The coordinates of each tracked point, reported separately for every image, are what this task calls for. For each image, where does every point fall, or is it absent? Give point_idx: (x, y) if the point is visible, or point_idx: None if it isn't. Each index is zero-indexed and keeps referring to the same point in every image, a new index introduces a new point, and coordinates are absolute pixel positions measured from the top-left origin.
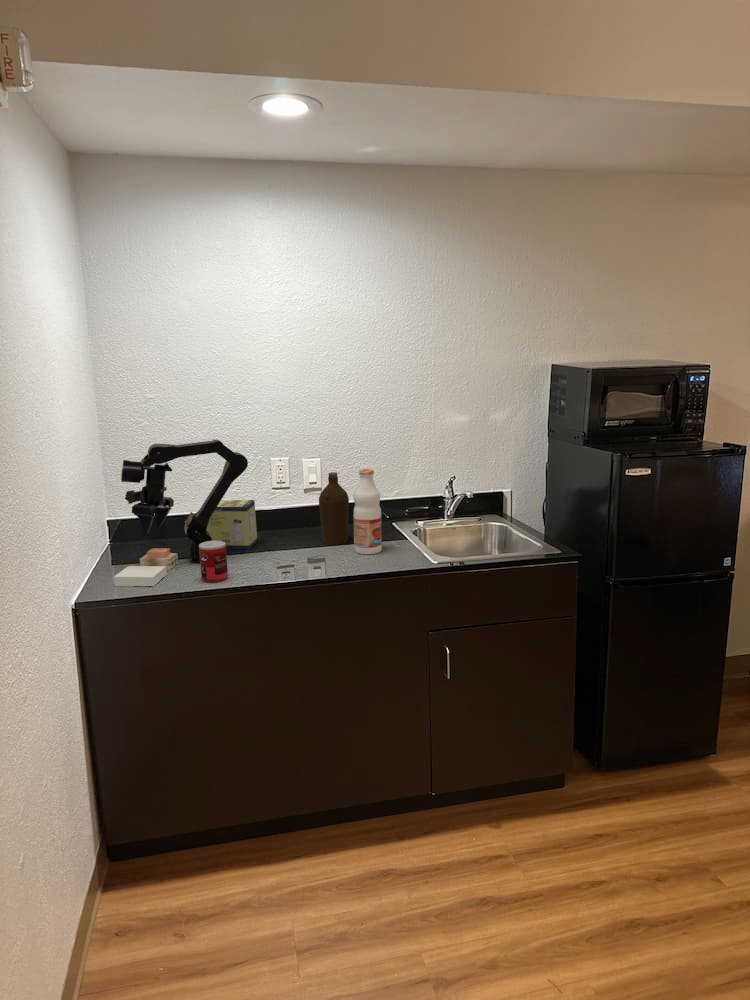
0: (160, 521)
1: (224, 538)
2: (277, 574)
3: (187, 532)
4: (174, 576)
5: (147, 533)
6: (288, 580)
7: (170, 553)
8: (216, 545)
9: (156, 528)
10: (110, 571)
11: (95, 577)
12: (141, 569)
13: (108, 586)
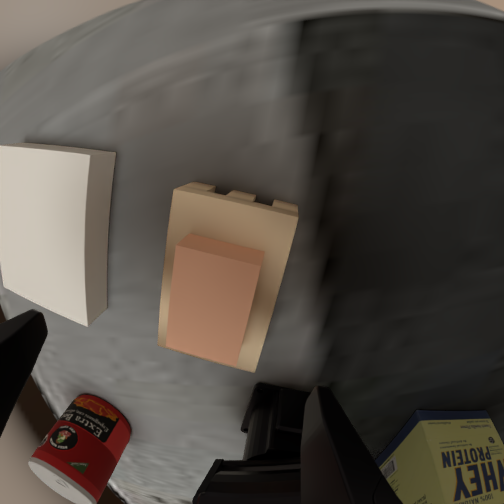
0: (307, 478)
1: (389, 478)
2: (146, 491)
3: (198, 497)
4: (102, 331)
5: (38, 342)
6: (118, 488)
7: (259, 344)
8: (63, 488)
9: (315, 390)
10: (184, 42)
11: (117, 18)
12: (49, 233)
13: (25, 120)
